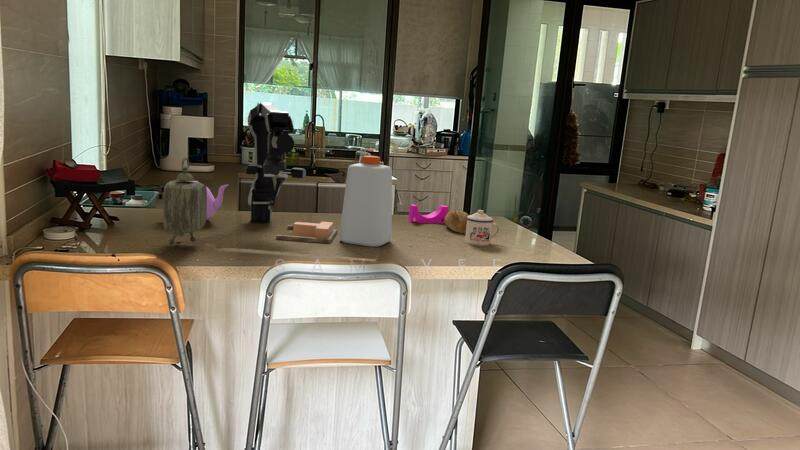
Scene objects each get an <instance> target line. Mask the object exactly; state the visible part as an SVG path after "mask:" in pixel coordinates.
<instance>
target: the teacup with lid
mask: <svg viewBox="0 0 800 450" xmlns="http://www.w3.org/2000/svg"><path fill="white" fill-rule="evenodd" d="M468 215H469V216H467V226H466V233H465V237H464V243H465V244H468V245H472V246H479V247H480V246H482V247H483V246H485V247H486V246H490V244H491V239H492V238H493V239H494V238H496V237H498V236H499V234H500V231H501V227H500V226H499V224H498V223H495V222H494V219H493V217H492V216H489V215H488V214H486V213H484V210H483V209H478V210H477V212H475V213H473V214H468ZM493 226H494V227H495V226H496V227H497V231H496V232H495V234H492V229H493Z"/></svg>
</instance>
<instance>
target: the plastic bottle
mask: <svg viewBox="0 0 800 450" xmlns="http://www.w3.org/2000/svg"><path fill="white" fill-rule="evenodd" d="M360 160H361V161H360V162H359V163H354V164H353V163H352V164H350V165H348V167H347V173H346V179H345V180H346V181H345V182H346V183H345V189H344V196H343V205H342V213H341V219H340V229H339V240H340V241H341V242H342V243H344V244H350V245H358V246H364V247H370V248H375V247H377V248H378V247H380V246H383V245H385V244H387V243H389V242H391V241H392V239H393V235H392V234H393V225H392V224H393V223H392V220H393V204H392V203H393V201H392V200H393V170H392V167H391V166H390V165H384V164H381V156H377V155H362V156H361V159H360Z"/></svg>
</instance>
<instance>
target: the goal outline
mask: <svg viewBox="0 0 800 450" xmlns="http://www.w3.org/2000/svg"><path fill="white" fill-rule="evenodd" d="M287 230H293V224H287ZM337 233H338V228H334V227H333V231H332V232H331V234H330V235H329V236H328V238H327V239H325V238H314V237H301V236H293V235H287V234H284V235H283V234H276V235H275V240H283V241H293V242H294V241H296V242H309V243H322V244H330V243H332V242H333V241H332V240H333V239H334V238H335V236H337Z"/></svg>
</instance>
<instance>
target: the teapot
mask: <svg viewBox="0 0 800 450" xmlns="http://www.w3.org/2000/svg"><path fill="white" fill-rule="evenodd" d="M189 182H199V181H198V180H194V181H189ZM228 186H229V184H223V185H220V187H219V188H218V192H217V197H216V198H215V197H214V195H213V194H212V191H211V190H210V188H209V187H208V186H206V188H207V213H206V221H207V220H210V218H212V217H213V216H214V215H215V213H216V212H217V211H218V209H219V208H220V207H221V206H222V203H223V201H224V191H225V189H226V188H227V187H228Z"/></svg>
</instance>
